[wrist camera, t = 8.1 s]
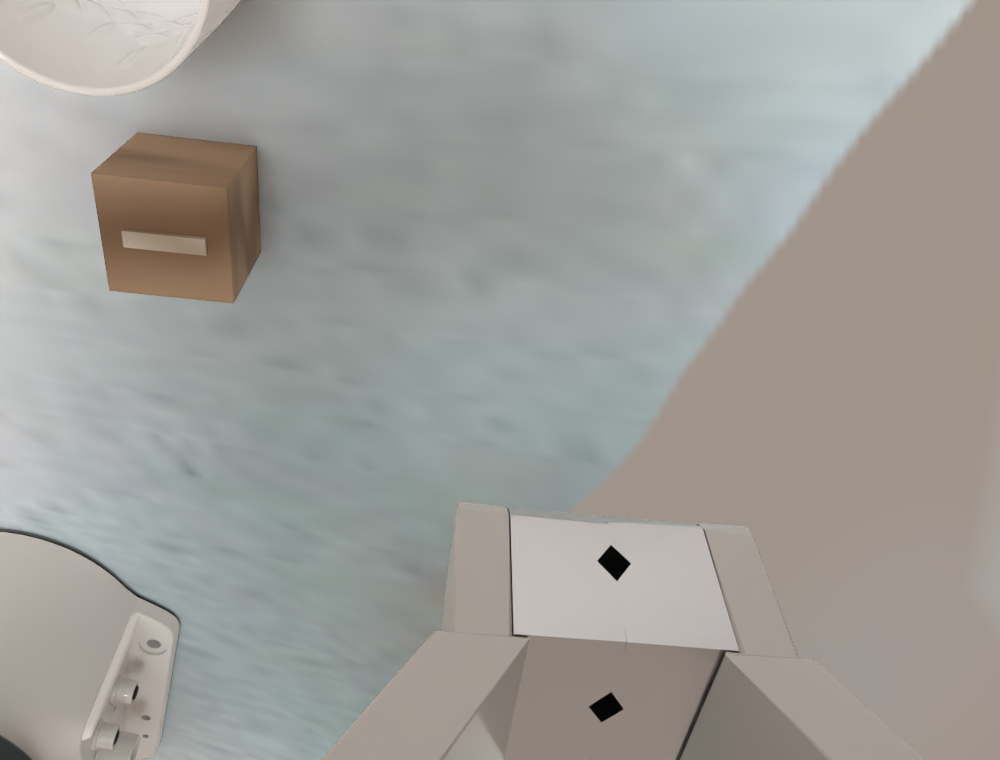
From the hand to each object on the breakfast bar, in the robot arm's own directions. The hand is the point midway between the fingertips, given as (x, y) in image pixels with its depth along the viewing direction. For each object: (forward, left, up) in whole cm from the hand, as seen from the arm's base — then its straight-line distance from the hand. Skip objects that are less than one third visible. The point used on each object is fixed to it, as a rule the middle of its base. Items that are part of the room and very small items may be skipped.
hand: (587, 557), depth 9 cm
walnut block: (-9, +13, -29) cm, 33 cm away
